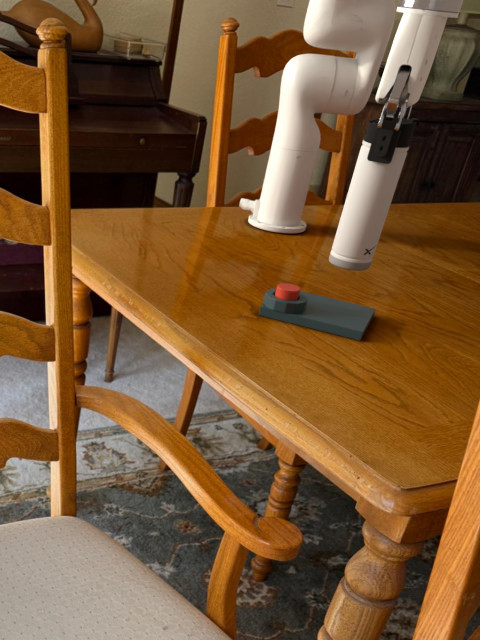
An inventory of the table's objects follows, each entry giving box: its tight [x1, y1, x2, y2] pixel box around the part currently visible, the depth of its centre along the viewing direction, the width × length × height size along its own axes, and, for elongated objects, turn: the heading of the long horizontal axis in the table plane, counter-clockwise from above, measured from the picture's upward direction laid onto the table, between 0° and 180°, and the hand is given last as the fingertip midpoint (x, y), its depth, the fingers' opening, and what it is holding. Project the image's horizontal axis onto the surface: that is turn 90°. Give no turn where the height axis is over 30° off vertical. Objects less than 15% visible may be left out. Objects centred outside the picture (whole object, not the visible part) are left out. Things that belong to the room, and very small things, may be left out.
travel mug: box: [328, 117, 421, 272], centre depth 105 cm, size 6×7×20 cm
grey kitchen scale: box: [258, 287, 376, 341], centre depth 115 cm, size 16×12×3 cm
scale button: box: [275, 282, 301, 301], centre depth 114 cm, size 4×4×2 cm
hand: (382, 157), depth 102 cm, fingers closed on travel mug, 6 cm apart
